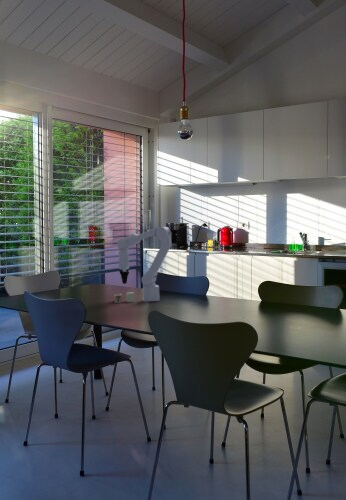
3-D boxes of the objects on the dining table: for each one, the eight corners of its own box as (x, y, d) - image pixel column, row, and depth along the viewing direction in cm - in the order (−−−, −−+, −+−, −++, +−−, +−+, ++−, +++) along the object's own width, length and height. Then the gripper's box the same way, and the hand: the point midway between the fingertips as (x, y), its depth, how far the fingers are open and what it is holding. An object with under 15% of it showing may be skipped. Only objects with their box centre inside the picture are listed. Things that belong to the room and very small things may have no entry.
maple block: (121, 302, 295) (121, 300, 301) (121, 295, 294) (121, 293, 301) (114, 302, 294) (114, 300, 301) (114, 295, 294) (114, 293, 301)
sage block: (132, 300, 301) (132, 292, 300) (134, 301, 297) (134, 292, 297) (126, 301, 299) (125, 292, 299) (128, 302, 296) (128, 293, 295)
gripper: (116, 258, 310) (117, 281, 311) (117, 260, 295) (117, 284, 296) (128, 258, 311) (129, 281, 312) (129, 260, 296) (130, 284, 297)
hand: (124, 282), depth 304 cm, fingers open, 7 cm apart
